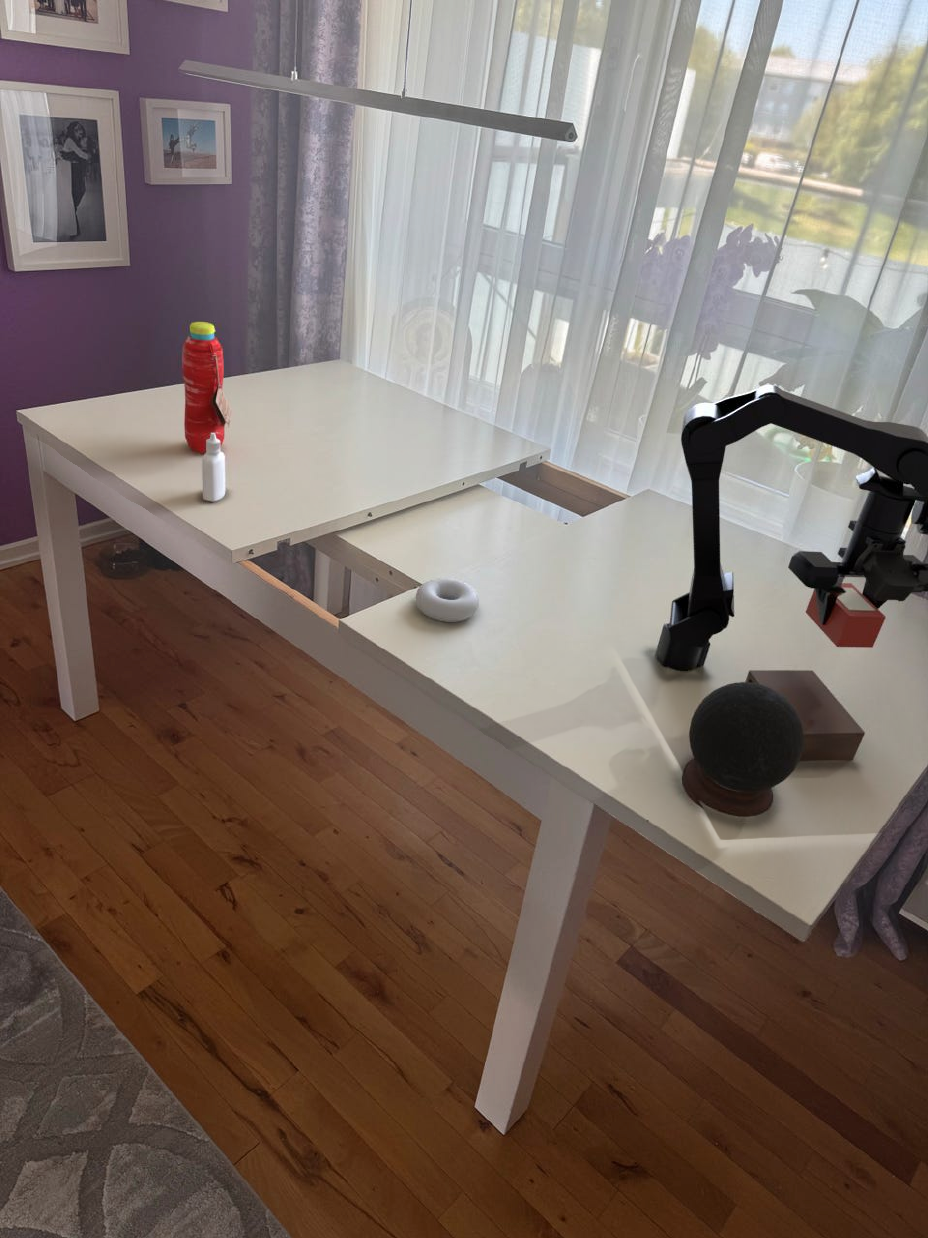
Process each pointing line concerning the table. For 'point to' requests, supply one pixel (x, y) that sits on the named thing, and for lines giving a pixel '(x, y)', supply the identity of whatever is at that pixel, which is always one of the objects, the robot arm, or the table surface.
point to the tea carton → (849, 619)
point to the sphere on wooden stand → (741, 748)
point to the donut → (458, 602)
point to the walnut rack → (815, 714)
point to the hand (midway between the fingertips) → (840, 623)
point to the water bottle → (204, 387)
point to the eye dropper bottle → (213, 470)
